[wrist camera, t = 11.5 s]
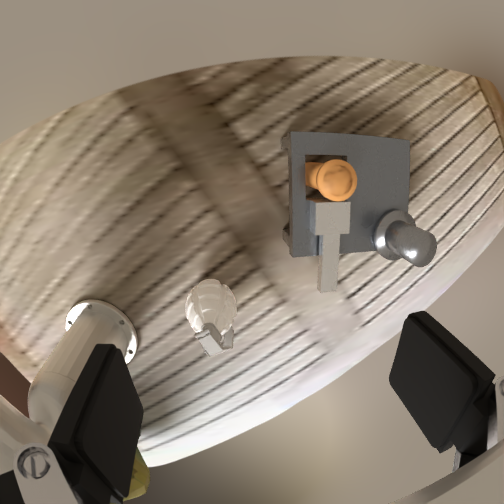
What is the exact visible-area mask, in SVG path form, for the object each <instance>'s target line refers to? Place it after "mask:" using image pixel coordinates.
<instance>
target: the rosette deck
mask: <svg viewBox="0 0 504 504" xmlns="http://www.w3.org/2000/svg"><path fill="white" fill-rule="evenodd" d="M281 149H288V164H289V226H290V229H283V240H284V241H285V242H286V244H287V245H288V246H289V247H290V255H291V256H292V257H305V256H317V255H319V266H318V286H317V289H318V290H319V291H320V293H323V292H332V291H336V289H337V277H338V263H339V254H342V253H354V252H366V251H377V252H378V253H379V254H380V255H381V256H383V257H384V258H386V259H388V260H398V259H400V258H404V259H405V260H407V261H409V262H410V263H412V264H413V265H415V266H417V267H424V266H426V265H428V264H429V263H430V262H431V261H432V259H433V258H434V256H435V253H436V249H437V242H436V238H435V237H434V235H433V234H432V233H430V232H427V231H425V230H423V229H420V228H418V227H416V224H415V221H414V219H413V218H412V216H411V215H410V214H408V202H409V180H410V141H409V140H402V139H394V138H386V137H377V136H367V135H355V134H341V133H323V132H288V136H286V137H283V138H281ZM305 155H342V160H343V161H346V162H348V163H349V164H350V165H351V166H352V167H353V168H354V170H355V172H356V175H357V186H356V189H355V191H354V193H353V194H352V195H351V196H350V197H349V198H348V199H346V200H344V201H332V200H330V199H328V198H306V176H305Z"/></svg>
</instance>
